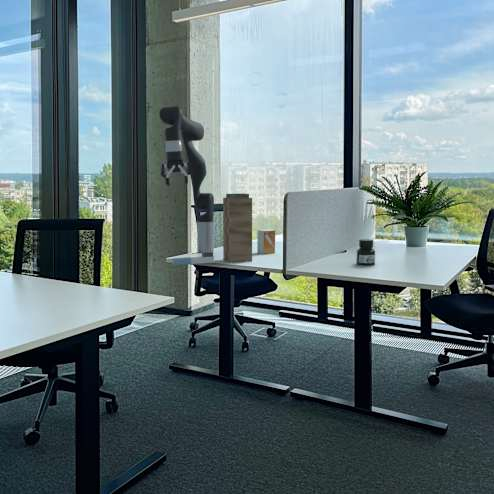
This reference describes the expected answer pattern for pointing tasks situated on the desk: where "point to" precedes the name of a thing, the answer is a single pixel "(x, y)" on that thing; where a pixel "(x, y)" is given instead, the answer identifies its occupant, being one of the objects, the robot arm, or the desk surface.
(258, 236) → the small box
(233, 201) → the stand
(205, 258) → the pale blue long bar
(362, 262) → the ink bottle
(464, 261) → the desk surface
